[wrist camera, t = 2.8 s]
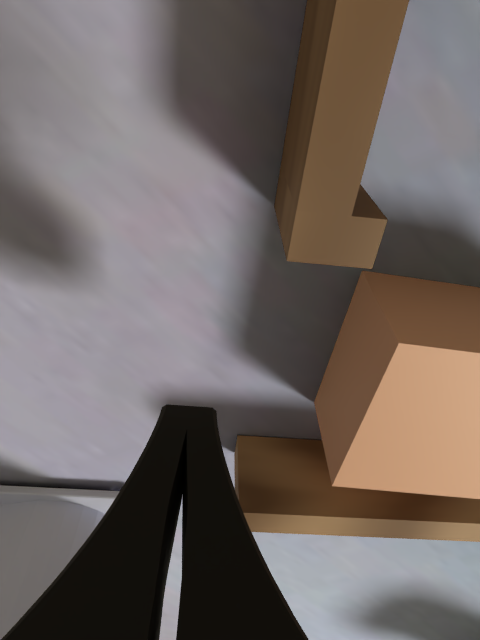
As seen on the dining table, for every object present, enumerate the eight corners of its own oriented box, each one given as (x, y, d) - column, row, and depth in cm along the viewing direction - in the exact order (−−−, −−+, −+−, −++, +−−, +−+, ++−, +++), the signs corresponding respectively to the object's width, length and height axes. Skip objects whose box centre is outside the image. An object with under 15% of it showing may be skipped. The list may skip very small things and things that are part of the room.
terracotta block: (313, 398, 18) (332, 486, 14) (360, 267, 14) (398, 343, 11) (452, 413, 18) (500, 500, 15) (529, 292, 15) (612, 370, 12)
